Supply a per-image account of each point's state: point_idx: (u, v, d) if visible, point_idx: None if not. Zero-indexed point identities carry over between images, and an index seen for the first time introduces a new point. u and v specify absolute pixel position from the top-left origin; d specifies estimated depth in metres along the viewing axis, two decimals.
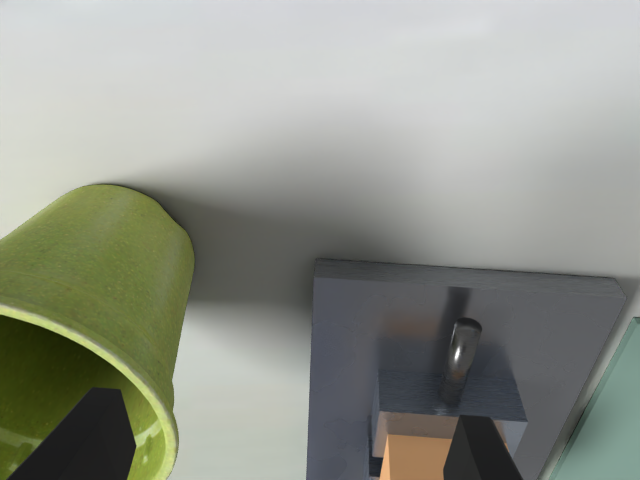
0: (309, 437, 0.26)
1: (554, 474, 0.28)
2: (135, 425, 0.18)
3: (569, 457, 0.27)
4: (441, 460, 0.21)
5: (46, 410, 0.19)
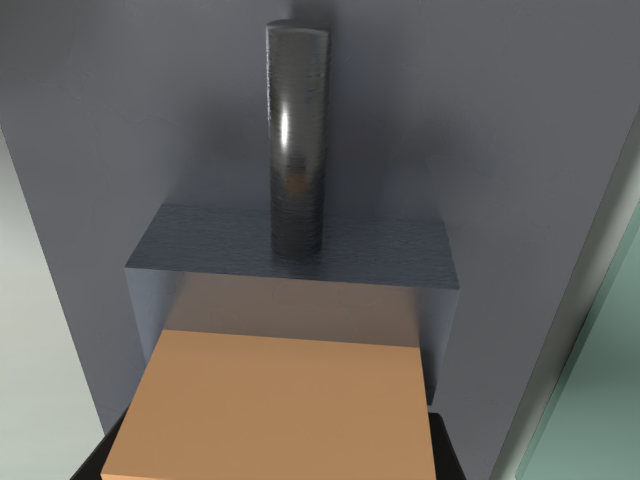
0: (84, 365, 0.14)
1: (536, 438, 0.16)
2: None
3: (561, 405, 0.15)
4: (263, 379, 0.09)
5: None
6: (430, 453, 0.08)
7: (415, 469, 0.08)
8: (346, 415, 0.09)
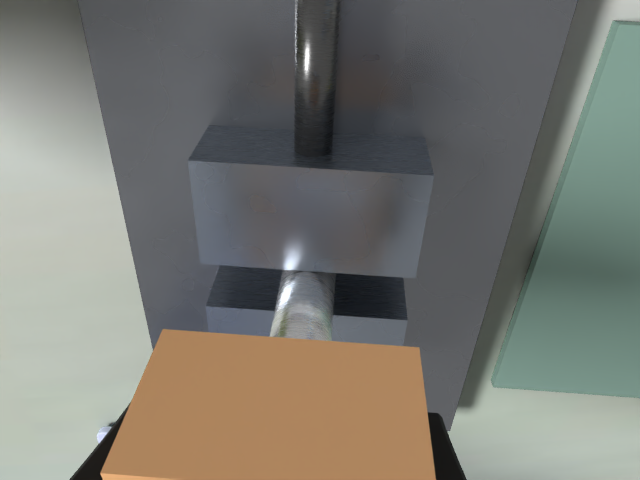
0: (137, 269, 0.18)
1: (507, 340, 0.20)
2: None
3: (525, 307, 0.19)
4: (263, 379, 0.09)
5: None
6: (430, 452, 0.08)
7: (414, 468, 0.08)
8: (346, 415, 0.09)
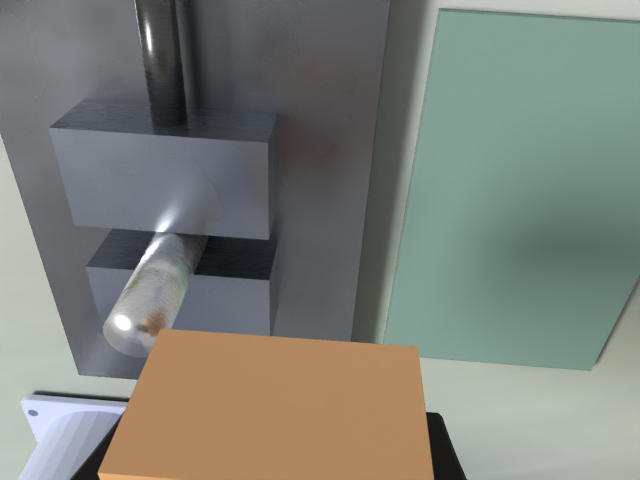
0: (36, 236, 0.19)
1: (389, 308, 0.21)
2: None
3: (399, 276, 0.20)
4: (260, 377, 0.09)
5: None
6: (428, 452, 0.08)
7: (413, 467, 0.08)
8: (344, 414, 0.09)
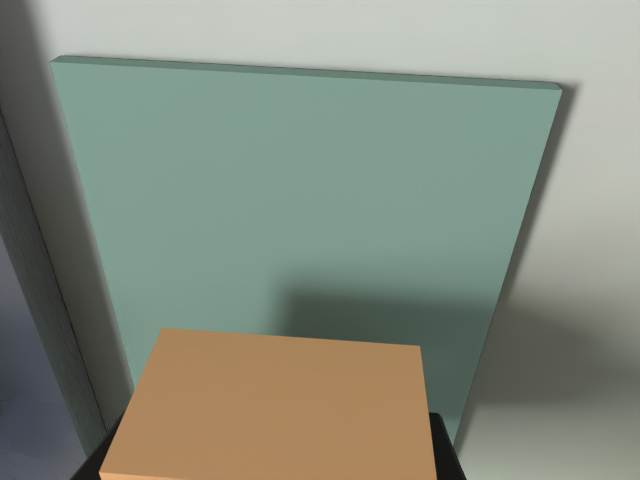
0: None
1: None
2: None
3: None
4: (262, 378, 0.09)
5: None
6: (431, 451, 0.08)
7: (416, 468, 0.08)
8: (346, 413, 0.09)
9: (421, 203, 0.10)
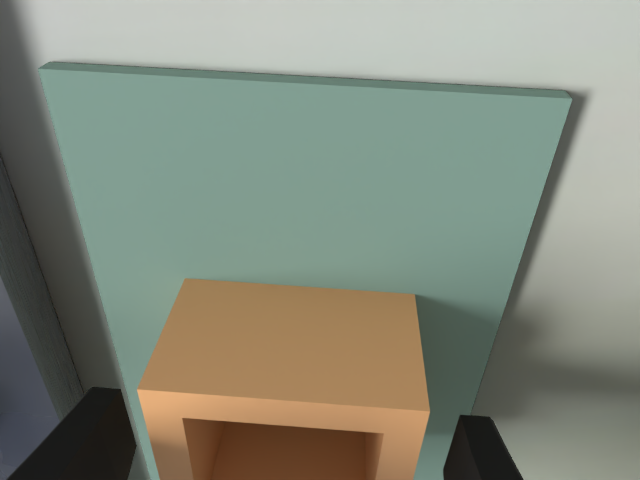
0: None
1: (146, 451, 0.16)
2: None
3: (139, 418, 0.14)
4: (276, 318, 0.10)
5: None
6: (423, 375, 0.09)
7: (410, 388, 0.09)
8: (349, 346, 0.10)
9: (424, 214, 0.10)
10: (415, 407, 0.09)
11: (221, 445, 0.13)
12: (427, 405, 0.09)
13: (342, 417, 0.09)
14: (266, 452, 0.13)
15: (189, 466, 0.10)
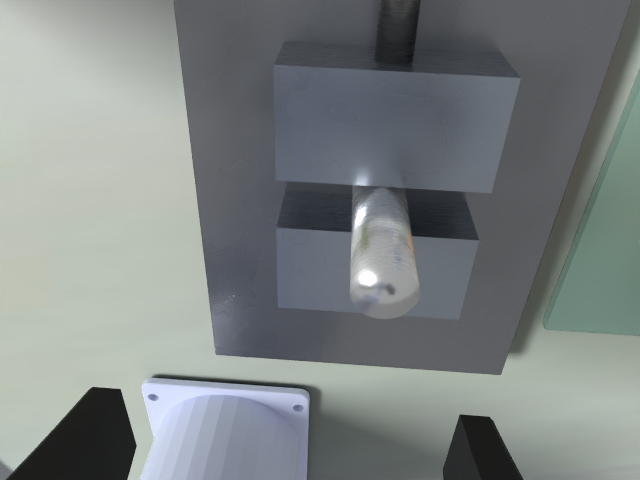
0: (199, 201, 0.18)
1: (562, 278, 0.20)
2: None
3: (583, 241, 0.19)
4: None
5: None
6: None
7: None
8: None
9: None
10: None
11: None
12: None
13: None
14: None
15: None
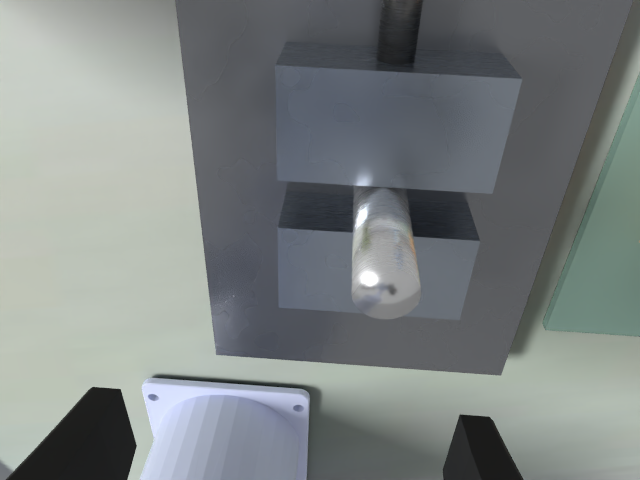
0: (200, 201, 0.18)
1: (562, 279, 0.20)
2: None
3: (584, 242, 0.19)
4: None
5: None
6: None
7: None
8: None
9: None
10: None
11: None
12: None
13: None
14: None
15: None
